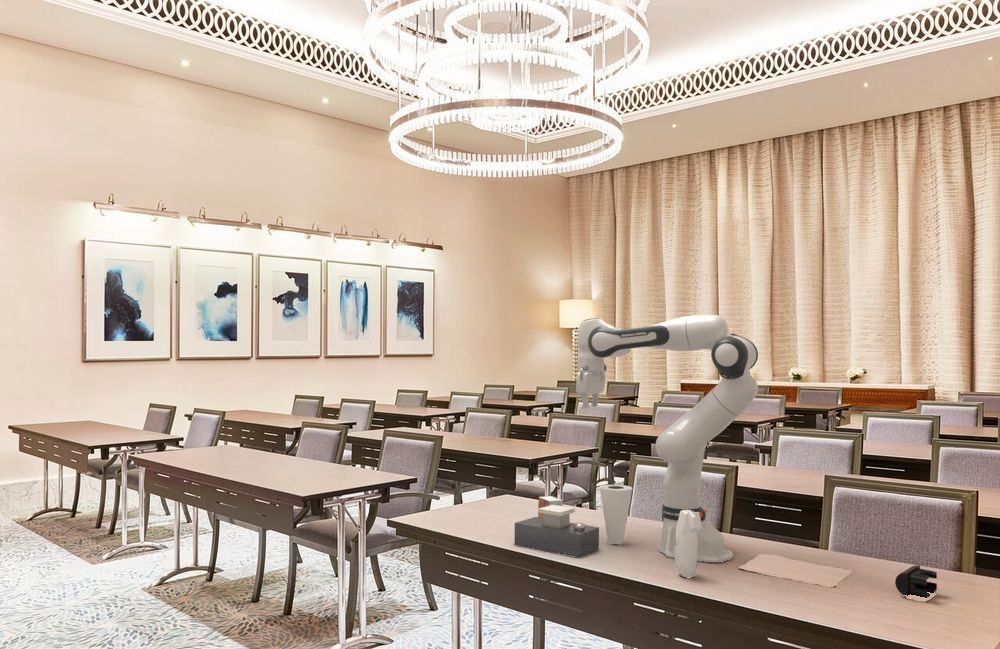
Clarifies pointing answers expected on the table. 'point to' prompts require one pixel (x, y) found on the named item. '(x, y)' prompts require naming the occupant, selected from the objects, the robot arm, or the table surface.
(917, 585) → the end cap
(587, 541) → the console
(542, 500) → the small box
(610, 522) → the cup
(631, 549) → the table surface
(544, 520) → the push button
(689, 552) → the white spray bottle
